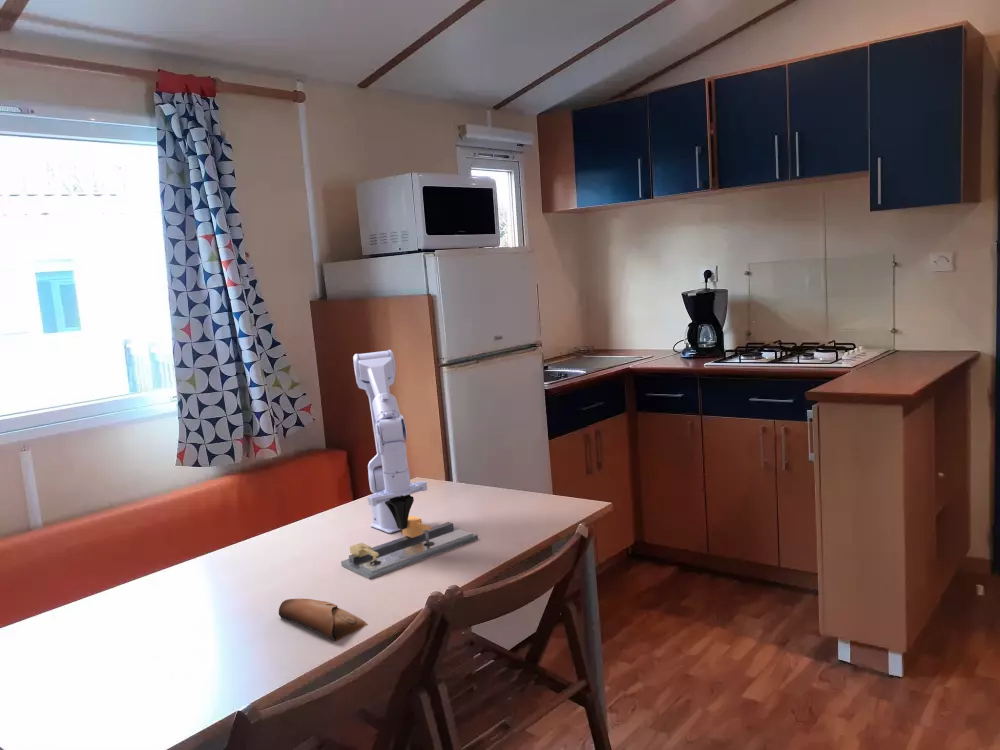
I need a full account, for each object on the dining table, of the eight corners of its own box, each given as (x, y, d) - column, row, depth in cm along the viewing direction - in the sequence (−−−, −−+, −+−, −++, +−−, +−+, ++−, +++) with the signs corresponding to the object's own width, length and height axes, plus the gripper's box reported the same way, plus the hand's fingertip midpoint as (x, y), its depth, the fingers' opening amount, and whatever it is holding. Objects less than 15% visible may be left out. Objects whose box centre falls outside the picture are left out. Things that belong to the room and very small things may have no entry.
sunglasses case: (372, 623, 145) (352, 600, 142) (347, 655, 141) (327, 632, 138) (315, 601, 157) (296, 580, 154) (291, 630, 153) (272, 609, 150)
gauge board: (341, 565, 176) (339, 548, 175) (447, 528, 194) (446, 513, 193) (369, 579, 166) (367, 560, 166) (478, 539, 184) (476, 522, 184)
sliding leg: (402, 537, 184) (400, 518, 184) (413, 533, 186) (411, 515, 186) (424, 545, 177) (422, 526, 177) (435, 541, 179) (433, 522, 179)
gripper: (376, 480, 172) (384, 540, 174) (431, 465, 181) (438, 522, 183) (360, 476, 178) (367, 534, 180) (414, 461, 187) (421, 517, 189)
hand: (402, 528), depth 182 cm, fingers closed
